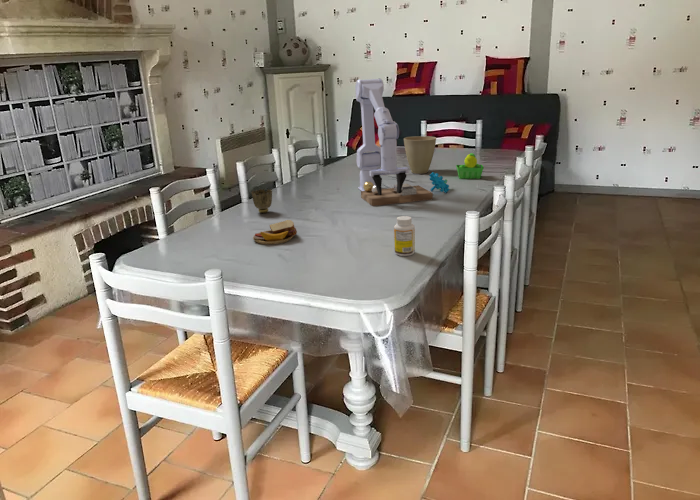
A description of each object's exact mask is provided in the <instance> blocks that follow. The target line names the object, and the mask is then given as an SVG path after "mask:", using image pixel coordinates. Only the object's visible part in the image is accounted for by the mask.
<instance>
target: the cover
mask: <svg viewBox="0 0 700 500" xmlns="http://www.w3.org/2000/svg"><path fill="white" fill-rule="evenodd" d="M413 186H414V185H411V184H409V183H403V185H402V189H401V193H399V194H400V195H402V196H404V195H414V194H416V188H415V187H413ZM393 188H394V191H396V192H397V184H393ZM397 193H398V192H397Z"/></svg>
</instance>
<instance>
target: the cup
mask: <svg viewBox="0 0 700 500" xmlns="http://www.w3.org/2000/svg"><path fill="white" fill-rule="evenodd" d="M251 197H252V201H253V205H254V207H255V208H256V209H258V210H257V211H258V213H259V214H267V213H269V212H270V211H269V208H270V207H272V202H273V190H272V189H267V190H265V188H263V189H262V188H259V189H256V190H252V191H251Z"/></svg>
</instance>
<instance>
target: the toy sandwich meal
mask: <svg viewBox="0 0 700 500" xmlns="http://www.w3.org/2000/svg"><path fill="white" fill-rule="evenodd" d="M269 228H270V230H264V231H260V232H258V233H255V234H254V235H253V237H252V239H253V240H254V241H255V242H256V243H258V244H261V245H279V244H285V243H287V242H289V241H290V240H292V238H294V236H296V235H297V233H298V231H297V228H296V227H295V223H294V221H292V220H290V219H287V220H283V221H279V222H276V223H271V224H269Z"/></svg>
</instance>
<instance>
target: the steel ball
mask: <svg viewBox="0 0 700 500" xmlns="http://www.w3.org/2000/svg"><path fill="white" fill-rule="evenodd" d="M372 192H373V193H374V194H378V190H377V187H376V185H374V186H373V187H372Z"/></svg>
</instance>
